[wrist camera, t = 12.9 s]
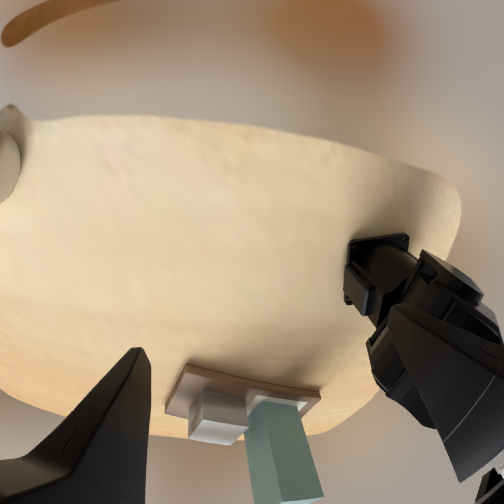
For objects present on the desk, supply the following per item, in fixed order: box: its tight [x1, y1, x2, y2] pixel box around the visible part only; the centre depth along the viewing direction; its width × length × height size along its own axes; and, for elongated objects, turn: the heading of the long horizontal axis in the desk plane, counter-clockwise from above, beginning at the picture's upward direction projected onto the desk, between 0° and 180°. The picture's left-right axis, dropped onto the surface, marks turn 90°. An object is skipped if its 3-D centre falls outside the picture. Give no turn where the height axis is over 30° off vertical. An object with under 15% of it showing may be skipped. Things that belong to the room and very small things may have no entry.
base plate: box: [165, 364, 321, 445], centre depth 28 cm, size 9×17×5 cm, turn 63°
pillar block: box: [244, 401, 324, 504], centre depth 24 cm, size 5×5×13 cm
